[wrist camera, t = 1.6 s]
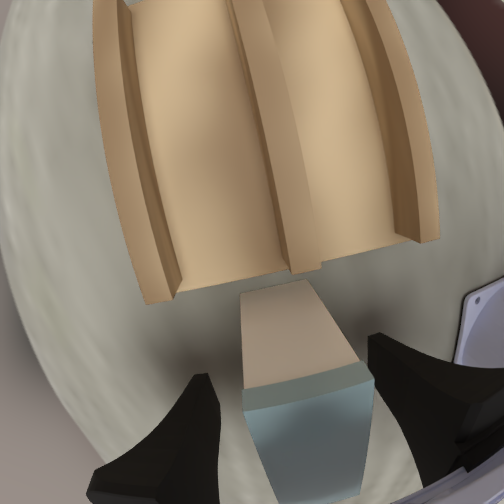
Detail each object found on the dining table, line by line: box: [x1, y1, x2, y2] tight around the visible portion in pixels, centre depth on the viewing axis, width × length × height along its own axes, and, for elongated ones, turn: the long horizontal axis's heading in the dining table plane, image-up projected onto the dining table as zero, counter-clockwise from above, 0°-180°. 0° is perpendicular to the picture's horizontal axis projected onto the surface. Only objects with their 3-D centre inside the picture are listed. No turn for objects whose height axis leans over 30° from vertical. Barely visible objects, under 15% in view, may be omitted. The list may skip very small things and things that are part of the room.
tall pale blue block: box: [240, 279, 375, 504], centre depth 10 cm, size 3×7×7 cm, turn 11°
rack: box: [93, 0, 440, 305], centre depth 9 cm, size 12×13×3 cm
